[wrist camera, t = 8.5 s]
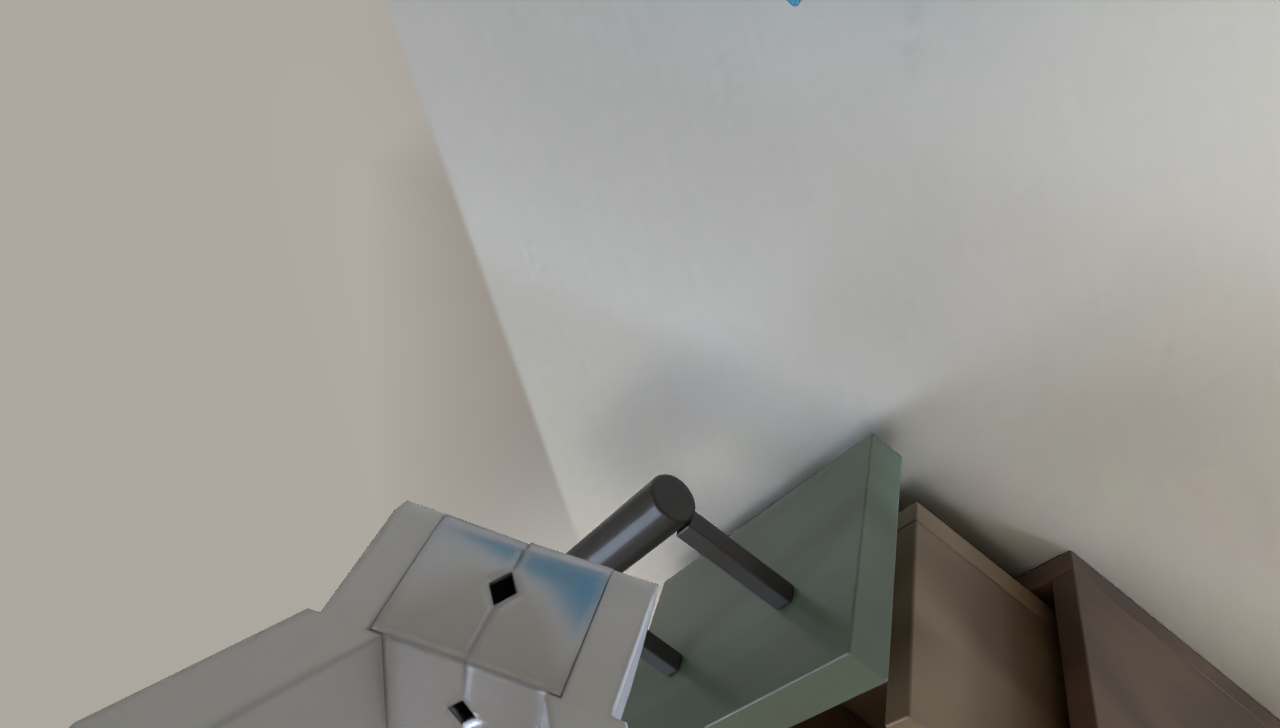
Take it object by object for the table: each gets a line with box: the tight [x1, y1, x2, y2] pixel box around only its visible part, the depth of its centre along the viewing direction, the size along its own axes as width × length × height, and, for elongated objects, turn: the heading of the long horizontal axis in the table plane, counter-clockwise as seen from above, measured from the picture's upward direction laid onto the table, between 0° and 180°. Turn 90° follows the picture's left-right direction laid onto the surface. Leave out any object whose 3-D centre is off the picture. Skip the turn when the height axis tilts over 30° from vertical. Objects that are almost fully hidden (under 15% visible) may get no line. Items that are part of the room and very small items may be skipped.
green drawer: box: [566, 433, 1070, 728], centre depth 26 cm, size 18×10×8 cm, turn 54°
